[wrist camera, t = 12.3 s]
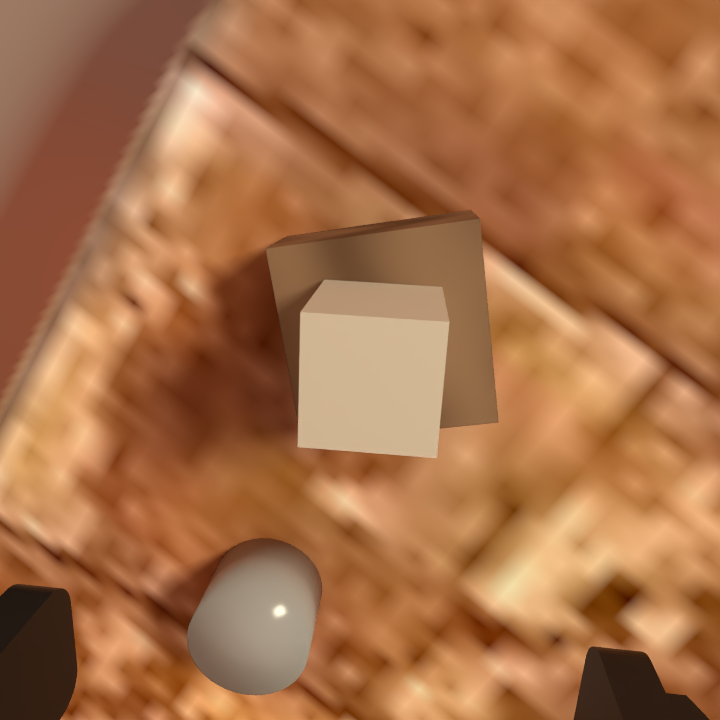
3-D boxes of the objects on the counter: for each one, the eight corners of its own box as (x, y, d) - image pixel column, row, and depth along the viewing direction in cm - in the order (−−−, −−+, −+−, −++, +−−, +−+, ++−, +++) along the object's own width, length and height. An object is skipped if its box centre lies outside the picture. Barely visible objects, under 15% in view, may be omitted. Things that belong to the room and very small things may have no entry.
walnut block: (470, 209, 31) (479, 218, 26) (487, 384, 33) (498, 422, 29) (288, 235, 32) (265, 248, 27) (318, 403, 34) (301, 442, 30)
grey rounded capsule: (324, 543, 37) (309, 600, 32) (320, 634, 39) (306, 701, 34) (215, 532, 37) (185, 587, 32) (216, 623, 39) (189, 688, 34)
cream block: (442, 286, 27) (449, 322, 21) (432, 397, 28) (436, 458, 23) (324, 279, 27) (300, 311, 22) (320, 389, 29) (297, 447, 23)
